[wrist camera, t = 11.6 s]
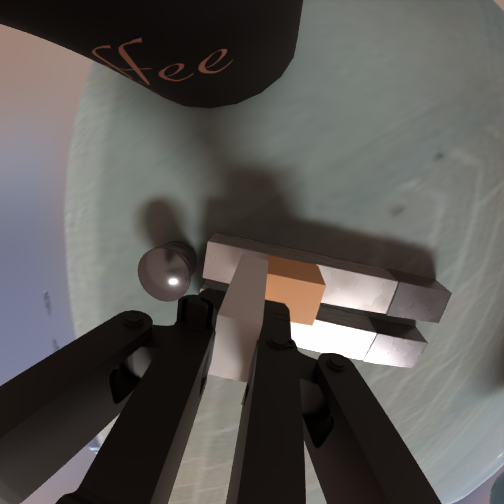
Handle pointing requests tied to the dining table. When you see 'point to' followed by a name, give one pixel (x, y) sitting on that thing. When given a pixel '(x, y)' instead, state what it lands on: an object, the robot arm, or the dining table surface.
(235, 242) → the tongs lower
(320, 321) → the tongs upper
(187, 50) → the coffee jar
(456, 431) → the dining table surface
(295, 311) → the tab
